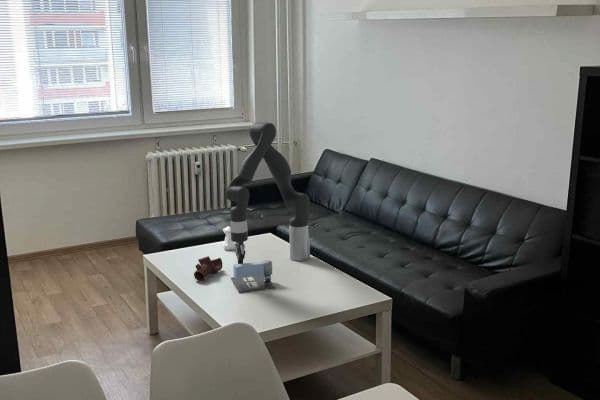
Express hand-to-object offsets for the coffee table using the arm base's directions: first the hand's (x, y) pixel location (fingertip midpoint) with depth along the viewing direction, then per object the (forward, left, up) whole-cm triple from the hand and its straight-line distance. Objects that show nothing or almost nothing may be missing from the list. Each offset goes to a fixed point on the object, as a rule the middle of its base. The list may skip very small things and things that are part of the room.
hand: (240, 266), depth 311 cm
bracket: (+13, -14, -8) cm, 20 cm away
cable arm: (-5, +4, -3) cm, 7 cm away
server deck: (-4, +4, -7) cm, 9 cm away
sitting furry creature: (-5, -51, -7) cm, 51 cm away
